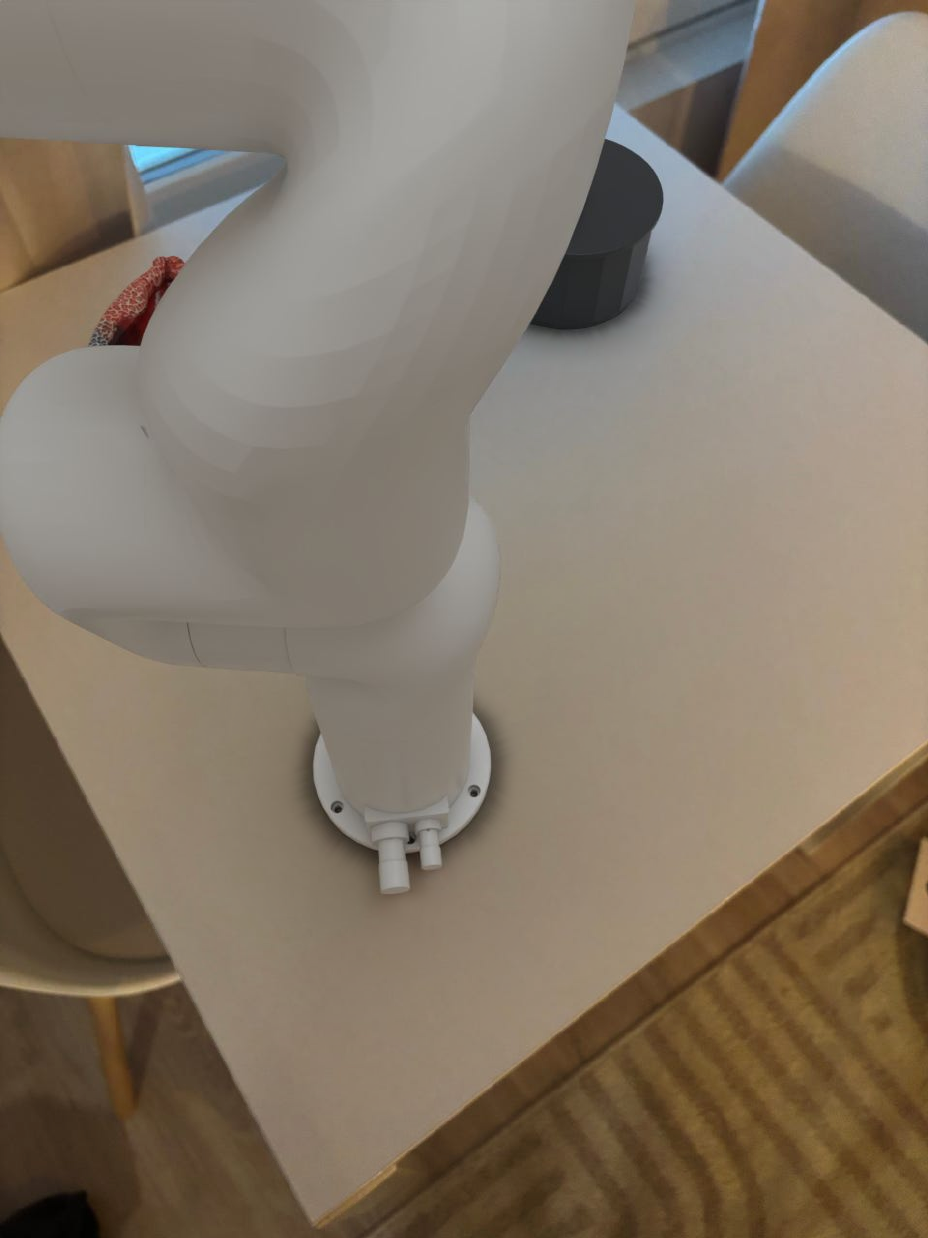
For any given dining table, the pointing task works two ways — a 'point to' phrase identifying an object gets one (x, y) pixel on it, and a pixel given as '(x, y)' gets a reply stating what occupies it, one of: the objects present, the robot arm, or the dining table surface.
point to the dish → (136, 305)
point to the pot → (592, 289)
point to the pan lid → (617, 205)
